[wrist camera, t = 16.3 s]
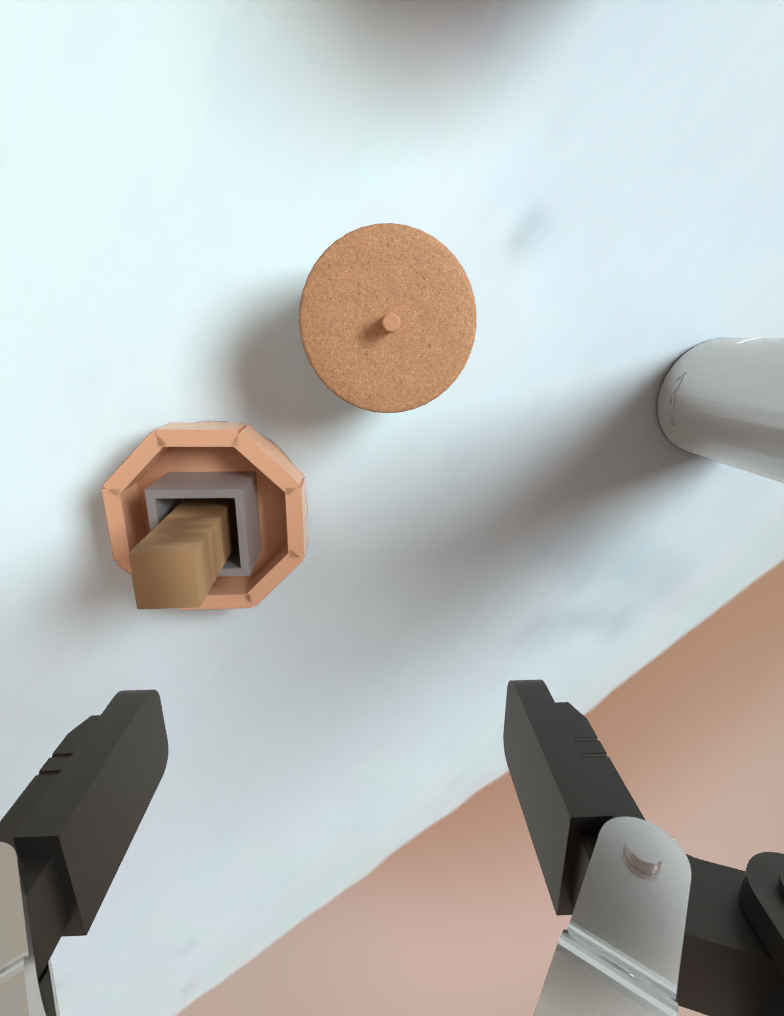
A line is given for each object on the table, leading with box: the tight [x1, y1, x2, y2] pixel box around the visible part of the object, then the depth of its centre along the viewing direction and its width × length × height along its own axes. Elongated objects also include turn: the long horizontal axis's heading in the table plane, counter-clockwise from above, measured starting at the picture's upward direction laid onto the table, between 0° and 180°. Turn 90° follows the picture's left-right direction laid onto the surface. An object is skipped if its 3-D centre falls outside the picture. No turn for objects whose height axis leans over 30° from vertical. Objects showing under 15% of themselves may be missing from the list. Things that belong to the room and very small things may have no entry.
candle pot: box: [101, 421, 308, 610], centre depth 38 cm, size 14×14×6 cm
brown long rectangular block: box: [129, 498, 238, 609], centre depth 34 cm, size 4×4×12 cm
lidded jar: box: [299, 223, 476, 413], centre depth 33 cm, size 11×11×9 cm
